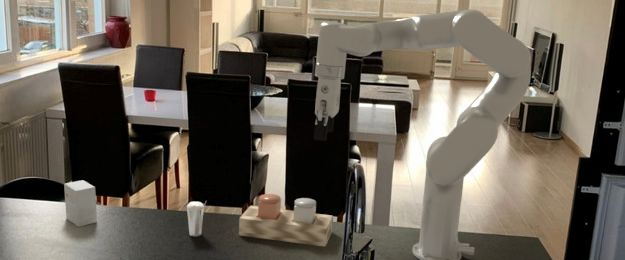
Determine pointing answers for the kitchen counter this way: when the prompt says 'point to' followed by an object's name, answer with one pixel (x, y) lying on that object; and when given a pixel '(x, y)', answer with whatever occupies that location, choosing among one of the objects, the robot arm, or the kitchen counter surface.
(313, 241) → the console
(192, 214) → the milkshake
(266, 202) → the terracotta button
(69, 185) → the small box
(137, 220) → the kitchen counter surface
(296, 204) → the grey button
